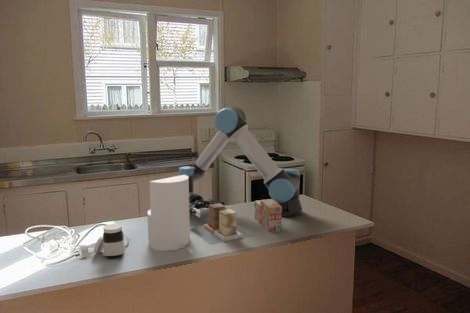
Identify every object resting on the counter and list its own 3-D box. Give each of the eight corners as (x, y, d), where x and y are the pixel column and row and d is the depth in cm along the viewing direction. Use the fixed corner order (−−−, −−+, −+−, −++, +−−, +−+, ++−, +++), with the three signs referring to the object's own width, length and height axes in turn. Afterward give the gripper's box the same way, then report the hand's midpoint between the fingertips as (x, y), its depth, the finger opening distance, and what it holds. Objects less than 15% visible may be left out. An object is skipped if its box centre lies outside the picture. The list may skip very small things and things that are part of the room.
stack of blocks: (254, 218, 200) (254, 194, 198) (266, 217, 201) (266, 193, 199) (268, 233, 179) (268, 207, 177) (281, 232, 181) (282, 205, 179)
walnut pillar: (219, 225, 186) (219, 203, 185) (225, 229, 182) (224, 206, 180) (208, 227, 184) (208, 204, 182) (214, 231, 179) (213, 207, 177)
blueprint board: (232, 223, 192) (232, 218, 192) (255, 236, 175) (255, 231, 175) (190, 231, 182) (190, 226, 181) (210, 246, 164) (210, 241, 164)
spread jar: (124, 259, 152) (123, 230, 150) (93, 262, 149) (91, 233, 147) (124, 247, 164) (122, 220, 162) (94, 250, 161) (93, 222, 159)
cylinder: (198, 242, 169) (197, 177, 164) (164, 254, 157) (162, 185, 152) (173, 232, 181) (172, 171, 176) (140, 242, 169) (137, 177, 164)
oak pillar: (230, 232, 177) (230, 209, 176) (236, 236, 173) (236, 212, 171) (219, 235, 175) (219, 210, 173) (225, 239, 170) (225, 214, 168)
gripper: (216, 204, 209) (236, 215, 191) (171, 211, 196) (188, 224, 178) (215, 190, 207) (236, 200, 189) (170, 197, 195) (187, 208, 177)
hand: (213, 212), depth 184 cm, fingers open, 13 cm apart
